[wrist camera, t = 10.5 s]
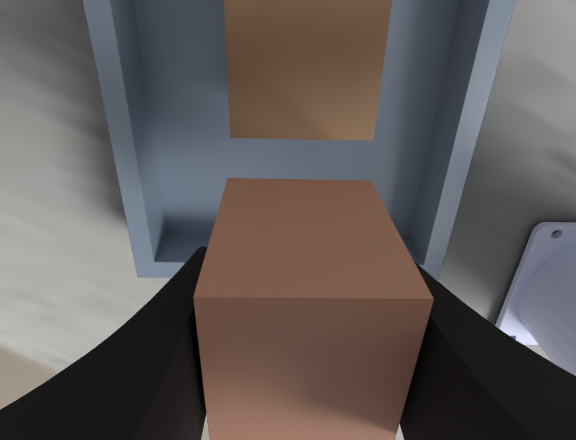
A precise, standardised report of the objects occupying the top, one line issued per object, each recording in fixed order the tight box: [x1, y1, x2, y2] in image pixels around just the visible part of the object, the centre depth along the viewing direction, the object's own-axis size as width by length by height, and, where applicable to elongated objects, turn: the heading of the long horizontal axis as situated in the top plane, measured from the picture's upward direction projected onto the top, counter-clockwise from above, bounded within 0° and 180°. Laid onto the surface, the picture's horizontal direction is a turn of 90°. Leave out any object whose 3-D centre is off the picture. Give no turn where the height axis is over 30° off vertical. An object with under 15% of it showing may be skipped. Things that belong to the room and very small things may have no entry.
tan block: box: [224, 0, 392, 141], centre depth 12 cm, size 4×4×5 cm
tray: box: [83, 0, 516, 280], centre depth 15 cm, size 13×13×3 cm
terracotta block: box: [193, 178, 434, 440], centre depth 10 cm, size 4×4×5 cm
